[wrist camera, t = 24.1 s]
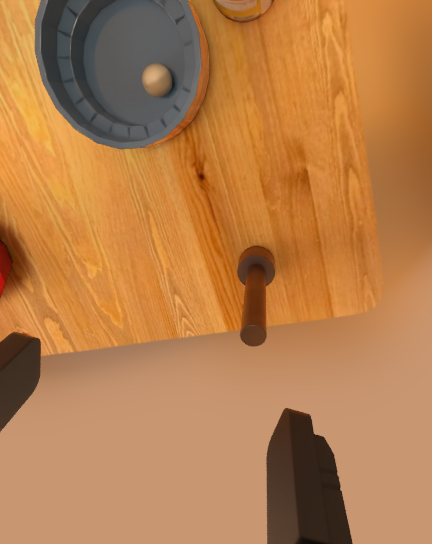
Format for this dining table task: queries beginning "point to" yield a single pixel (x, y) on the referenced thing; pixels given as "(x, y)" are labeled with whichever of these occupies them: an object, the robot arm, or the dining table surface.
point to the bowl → (122, 66)
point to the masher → (255, 293)
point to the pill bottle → (242, 8)
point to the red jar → (4, 265)
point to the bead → (157, 80)
